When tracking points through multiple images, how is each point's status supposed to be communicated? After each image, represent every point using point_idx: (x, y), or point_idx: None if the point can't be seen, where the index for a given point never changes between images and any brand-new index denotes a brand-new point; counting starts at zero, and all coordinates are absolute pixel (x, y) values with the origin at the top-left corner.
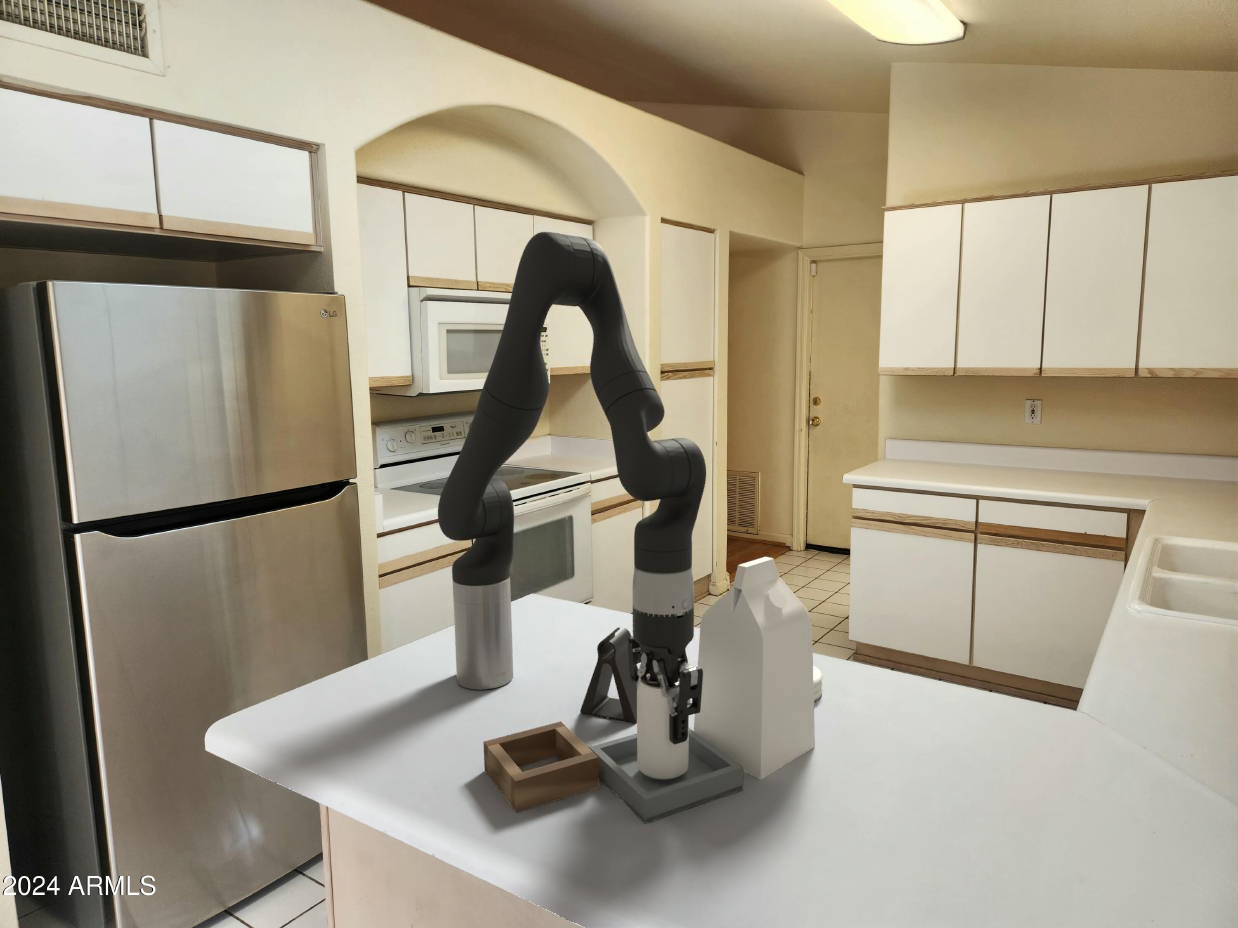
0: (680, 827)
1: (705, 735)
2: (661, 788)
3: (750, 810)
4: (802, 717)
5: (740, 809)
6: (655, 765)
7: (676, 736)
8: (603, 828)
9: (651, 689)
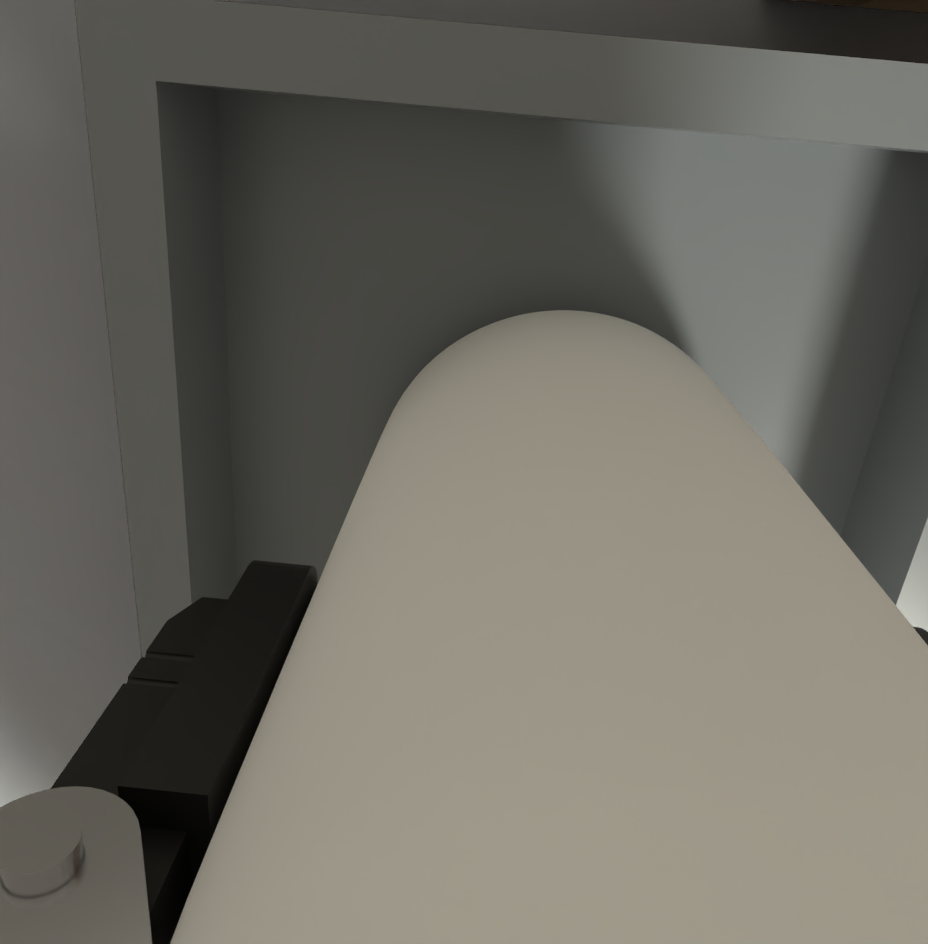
0: (35, 201)
1: None
2: (165, 223)
3: (31, 610)
4: None
5: (59, 580)
6: (438, 373)
7: (201, 625)
8: None
9: None
